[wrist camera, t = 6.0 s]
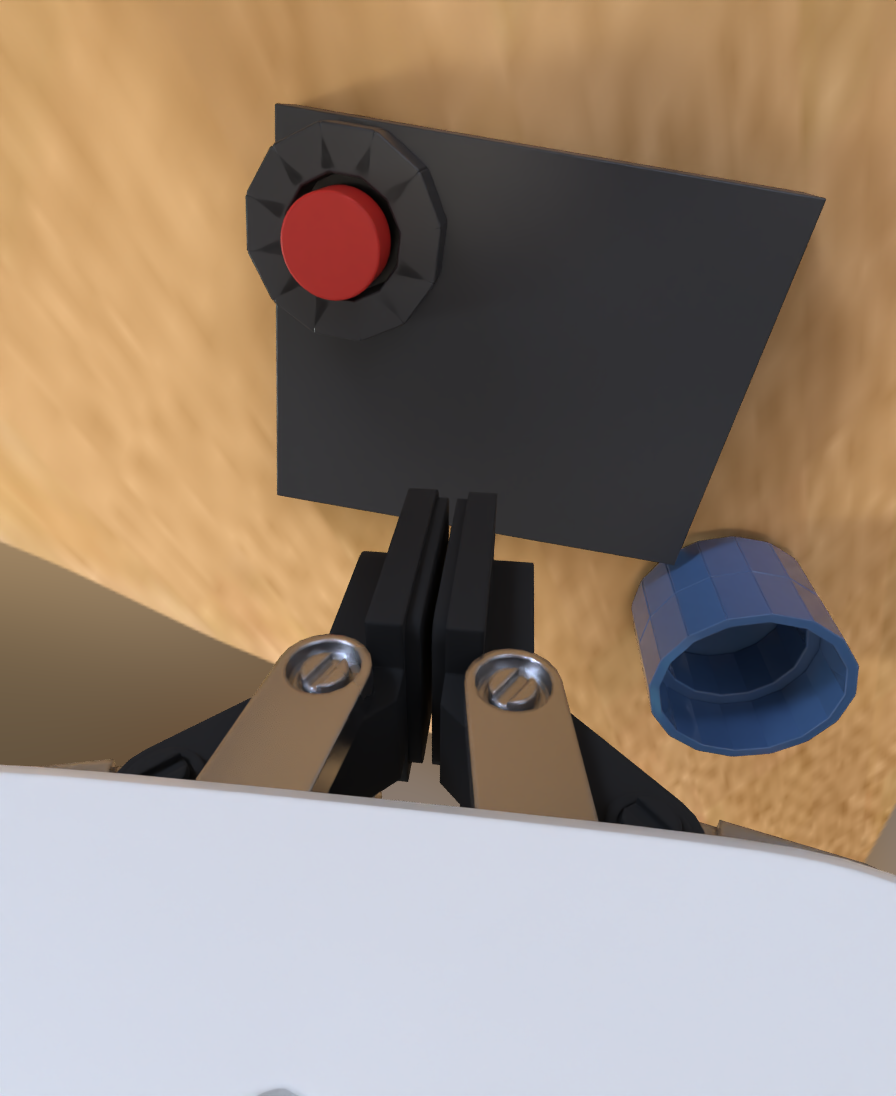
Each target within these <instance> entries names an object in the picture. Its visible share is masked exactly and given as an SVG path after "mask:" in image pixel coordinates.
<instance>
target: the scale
mask: <svg viewBox="0 0 896 1096" xmlns="http://www.w3.org/2000/svg"><path fill="white" fill-rule="evenodd" d="M339 184H341V185H348V186H352V187H355V188H358V189H360V190H361V191H363V192H365V193H366V194H368V195H369V196H370V197H371V198H372V199H373V200H374V201H375V202H376V203H377V204H378V205H379V207H380V208H381V210H382V211H383V213H384V215H385V217H386V219H387V222H388V225H389V229H390V235H391V249H390V255H389V258H388V261H387V264H386V266H385V267H384V269H383V271H382V272H381V273H380V275H379V276H378V277H377V278H376V279H375V280H374V281H373V282H372V283H371V284H370V285H369V286H368V287H367V288H366V289H365V290H364V291H363V292H362V293H360V294H359V295H357V296H355V297H353V298H350V299H347V300H341V301H333V300H326V299H322V298H320V297H317V296H315V295H313V294H311V293H310V292H308V291H307V290H305V289H304V288H303V287H302V286H301V285H300V284H299V283H298V282H297V281H296V280H295V279H294V277H293V276H292V275H291V273H290V271H289V270H288V268H287V266H286V263H285V261H284V258H283V254H282V250H281V240H280V238H281V228H282V224H283V220H284V218H285V215H286V213H287V211H288V210H289V208H290V207H291V206H292V204H293V203H294V202H295V201H296V200H298V199H299V198H300V197H301V196H303V195H305V194H307V193H309V192H312V191H315V190H318V189H321V188H324V187H327V186H331V185H339ZM825 201H826V199H825V198H823V197H819V196H815V195H811V194H808V193H804V192H799V191H793V190H787V189H782V188H776V187H770V186H764V185H758V184H753V183H747V182H741V181H735V180H729V179H724V178H718V177H712V176H706V175H700V174H695V173H689V172H683V171H677V170H672V169H666V168H660V167H654V166H648V165H643V164H637V163H631V162H625V161H619V160H614V159H608V158H602V157H596V156H590V155H585V154H579V153H573V152H567V151H562V150H556V149H550V148H544V147H538V146H533V145H527V144H521V143H515V142H509V141H504V140H498V139H492V138H486V137H480V136H475V135H469V134H463V133H457V132H451V131H446V130H440V129H434V128H428V127H423V126H417V125H411V124H405V123H399V122H394V121H388V120H382V119H376V118H370V117H365V116H359V115H353V114H347V113H341V112H336V111H330V110H324V109H318V108H313V107H307V106H301V105H294V104H278V103H277V104H275V143H274V144H273V146H271V147H270V148H269V150H268V152H267V154H266V156H265V158H264V160H263V162H262V164H261V166H260V167H259V169H258V171H257V173H256V175H255V177H254V179H253V181H252V183H251V185H250V187H249V188H248V190H247V195H246V230H247V251H248V254H249V256H250V258H251V259H252V261H253V263H254V265H255V267H256V269H257V271H258V273H259V275H260V277H261V279H262V281H263V283H264V285H265V287H266V289H267V291H268V293H269V295H270V297H271V299H272V300H274V302H275V303H276V373H277V495H280V496H285V497H291V498H297V499H302V500H308V501H314V502H319V503H325V504H331V505H336V506H342V507H348V508H353V509H359V510H365V511H370V512H376V513H382V514H387V515H393V516H400V513H401V510H402V507H403V504H404V501H405V498H406V495H407V492H408V490H409V488H421V489H437V490H438V492H439V497H445V498H449V525H450V526H452V522H453V517H454V512H455V507H456V502H457V498H461V499H468V494H469V491H470V492H486V493H497V511H496V528H495V534H501V535H506V536H512V537H518V538H523V539H529V540H535V541H540V542H546V543H552V544H557V545H563V546H569V547H574V548H580V549H586V550H591V551H597V552H603V553H608V554H614V555H619V556H625V557H631V558H636V559H642V560H648V561H653V562H659V563H665V564H670V565H674V564H675V562H676V560H677V557H678V555H679V552H680V550H681V547H682V545H683V543H684V540H685V538H686V535H687V533H688V531H689V528H690V526H691V523H692V521H693V519H694V516H695V514H696V511H697V509H698V507H699V504H700V502H701V499H702V497H703V495H704V492H705V490H706V487H707V485H708V483H709V480H710V478H711V475H712V473H713V471H714V468H715V466H716V463H717V461H718V458H719V456H720V454H721V451H722V449H723V446H724V444H725V442H726V439H727V437H728V434H729V432H730V430H731V427H732V425H733V422H734V420H735V418H736V415H737V413H738V410H739V408H740V406H741V403H742V401H743V398H744V396H745V394H746V391H747V389H748V386H749V384H750V381H751V379H752V377H753V374H754V372H755V369H756V367H757V365H758V362H759V360H760V357H761V355H762V353H763V350H764V348H765V345H766V343H767V341H768V338H769V336H770V333H771V331H772V329H773V326H774V324H775V321H776V319H777V317H778V314H779V312H780V309H781V307H782V304H783V302H784V300H785V297H786V295H787V292H788V290H789V288H790V285H791V283H792V280H793V278H794V276H795V273H796V271H797V268H798V266H799V264H800V261H801V259H802V256H803V254H804V252H805V249H806V247H807V244H808V242H809V240H810V237H811V235H812V232H813V230H814V228H815V225H816V223H817V220H818V218H819V215H820V213H821V211H822V208H823V206H824V203H825Z"/></svg>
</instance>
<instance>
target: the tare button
mask: <svg viewBox="0 0 896 1096" xmlns="http://www.w3.org/2000/svg"><path fill="white" fill-rule="evenodd" d="M280 240H281V250H282V254H283V258H284V261H285V263H286V266H287V268H288V270H289V271H290V273H291V275H292V276H293V277H294V279H295V280H296V281H297V282H298V283H299V284H300V285H301V286H302V287H303V288H304V289H305V290H307V291H308V292H310V293H311V294H313V295H315V296H317V297H320V298H322V299H326V300H333V301H341V300H347V299H350V298H353V297H355V296H357V295H359V294H360V293H362V292H363V291H364V290H365V289H366V288H367V287H368V286H369V285H370V284H371V283H372V282H373V281H374V280H375V279H376V278H377V277H378V276H379V275H380V273H381V272H382V271H383V269H384V267H385V266H386V264H387V261H388V258H389V255H390V249H391V235H390V229H389V225H388V222H387V219H386V217H385V215H384V213H383V211H382V210H381V208H380V207H379V205H378V204H377V203H376V202H375V201H374V200H373V199H372V198H371V197H370V196H369V195H368V194H366V193H365V192H363V191H361V190H360V189H358V188H355V187H352V186H348V185H341V184H339V185H331V186H327V187H324V188H321V189H318V190H315V191H312V192H309V193H307V194H305V195H303V196H301V197H300V198H299V199H298V200H296V201H295V202H294V203H293V204H292V206H291V207H290V208H289V210H288V211H287V213H286V215H285V218H284V220H283V224H282V228H281V238H280Z"/></svg>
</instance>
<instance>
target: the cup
mask: <svg viewBox="0 0 896 1096" xmlns="http://www.w3.org/2000/svg"><path fill="white" fill-rule="evenodd" d="M632 616H633V623H634V630H635V635H636V640H637V645H638V650H639V654H640V659H641V664H642V669H643V674H644V679H645V684H646V688H647V693H648V698H649V703H650V708H651V712H652V714H653V716H654V717H655V718H656V720H657V721H658V722H659V723H660V725H661V726H662V727H663V728H664V730H665V731H666V732H667V734H668V735H670V736H671V737H673V738H675V739H677V740H678V741H680V742H682V743H684V744H686V745H688V746H690V747H692V748H694V749H695V750H698V751H703V752H709V753H714V754H720V755H726V756H733V757H735V756H748V755H761V754H770V753H774V752H777V751H780V750H783V749H786V748H789V747H792V746H795V745H798V744H801V743H804V742H807V741H809V740H810V739H812V738H813V737H815V736H816V735H818V734H819V733H821V732H822V731H824V730H825V729H826V728H828V727H829V726H831V725H832V724H834V723H835V722H837V721H838V720H839V718H840V717H841V715H842V714H843V712H844V711H845V710H846V708H847V707H848V705H849V704H850V703H851V701H852V700H853V698H854V697H855V694H856V690H857V680H858V670H859V666H858V663H857V661H856V659H855V657H854V655H853V654H852V652H851V650H850V648H849V646H848V645H847V643H846V641H845V639H844V638H843V636H842V634H841V633H840V631H839V629H838V628H837V626H836V624H835V623H834V621H833V620H832V618H831V616H830V615H829V613H828V611H827V610H826V608H825V606H824V605H823V603H822V601H821V600H820V598H819V597H818V595H817V593H816V592H815V590H814V588H813V587H812V585H811V583H810V582H809V580H808V578H807V577H806V575H805V573H804V572H803V570H802V569H801V567H800V565H799V564H798V562H797V561H796V560H795V558H793V557H791V556H790V555H788V554H787V553H785V552H784V551H782V550H780V549H779V548H777V547H776V546H774V545H772V544H771V543H768V542H765V541H759V540H753V539H748V538H742V537H736V536H729V537H723V538H716V539H709V540H702V541H697V542H694V543H692V544H690V545H688V546H686V547H684V548H682V549H681V550H680V552H679V555H678V557H677V560H676V562H675V564H674V565H670V564H665V563H658V564H657V565H656V566H655V567H654V568H653V569H652V570H651V571H650V572H649V573H648V574H647V575H646V576H645V577H644V578H643V580H642V581H641V583H640V585H639V588H638V590H637V593H636V595H635V598H634V601H633V603H632Z"/></svg>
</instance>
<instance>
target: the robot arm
mask: <svg viewBox="0 0 896 1096" xmlns="http://www.w3.org/2000/svg"><path fill="white" fill-rule="evenodd" d="M496 511H497V493H486V492H470V491H469V494H468V499H461V498H457V502H456V507H455V512H454V517H453V522H452V527H451V532H450V537H449V498H445V497H439V492H438V490H437V489H421V488H409V490H408V492H407V495H406V498H405V501H404V504H403V507H402V510H401V513H400V516H399V519H398V522H397V525H396V528H395V531H394V534H393V537H392V540H391V543H390V546H389V549H388V552H387V553H384V552H369V551H364V552H362V553H361V555H360V557H359V559H358V562H357V564H356V567H355V570H354V572H353V575H352V577H351V580H350V582H349V585H348V587H347V590H346V592H345V595H344V598H343V600H342V603H341V605H340V608H339V610H338V613H337V615H336V618H335V621H334V623H333V626H332V628H331V631H330V633H329V634H325V635H317V636H312V637H309V638H307V639H304V640H301V641H299V642H297V643H296V644H294V645H293V646H291V647H289V648H288V649H287V650H286V651H285V652H284V653H283V654H282V655H281V657H280V658H279V659H278V661H277V662H276V664H275V665H274V666H273V668H272V669H271V671H270V672H269V674H268V676H267V677H266V678H265V680H264V681H263V683H262V684H261V685H260V687H259V688H258V690H257V691H256V693H255V694H254V695H253V697H252V698H250V699H247V700H245V701H243V702H242V703H239V704H237V705H235V706H233V707H231V708H229V709H227V710H225V711H223V712H221V713H219V714H217V715H215V716H213V717H211V718H209V719H207V720H205V721H203V722H201V723H199V724H197V725H195V726H193V727H191V728H188V729H187V730H185V731H182V732H180V733H178V734H176V735H174V736H172V737H170V738H168V739H166V740H164V741H162V742H160V743H158V744H156V745H154V746H152V747H150V748H148V749H146V750H144V751H142V752H141V753H139V754H138V755H136V756H134V757H133V758H131V759H130V760H129V761H128V762H127V763H126V764H125V765H124V766H118V767H116V764H115V762H114V760H113V759H110V760H100V761H90V762H80V763H70V764H60V765H50V766H40V767H34V766H11V765H0V1096H896V875H894V874H891V873H888V872H885V871H882V870H879V869H877V868H875V867H872V866H870V865H868V864H866V863H862V862H859V861H856V860H852V859H849V858H846V857H842V856H839V855H835V854H832V853H829V852H825V851H822V850H819V849H815V848H812V847H809V846H805V845H802V844H799V843H795V842H792V841H789V840H785V839H782V838H779V837H775V836H772V835H769V834H765V833H762V832H759V831H755V830H752V829H749V828H745V827H742V826H738V825H735V824H732V823H728V822H725V821H722V820H719V823H718V825H717V827H714V826H711V825H707V824H704V823H701V822H699V821H698V820H697V818H696V816H695V815H694V814H693V813H692V812H691V811H690V810H689V809H688V808H687V807H686V806H685V805H684V804H683V803H682V802H681V801H680V800H678V799H677V798H676V797H675V796H673V795H672V794H671V793H670V792H668V791H667V790H666V789H665V788H663V787H662V786H661V785H660V784H658V783H657V782H656V781H655V780H653V779H652V778H651V777H650V776H648V775H647V774H646V773H645V772H643V771H642V770H641V769H640V768H639V767H637V766H636V765H635V764H634V763H632V762H631V761H630V760H629V759H627V758H626V757H625V756H624V755H622V754H621V753H620V752H619V751H617V750H616V749H615V748H614V747H612V746H611V745H610V744H609V743H607V742H606V741H605V740H604V739H602V738H601V737H600V736H599V735H597V734H596V733H595V732H594V731H592V730H591V729H590V728H589V727H587V726H586V725H585V724H584V723H582V722H581V721H580V720H579V719H577V718H576V717H575V716H574V715H572V714H571V713H570V709H569V705H568V702H567V698H566V694H565V690H564V686H563V682H562V679H561V677H560V675H559V673H558V671H557V670H556V669H555V668H554V667H553V666H552V665H551V663H550V662H549V661H547V660H546V659H544V658H542V657H540V656H539V655H537V654H535V653H534V564H533V563H527V562H513V561H498V560H494V544H495V528H496ZM431 714H432V764H437V765H440V783H441V784H442V785H443V786H444V788H445V789H446V790H447V791H448V792H449V793H450V794H451V795H452V796H453V797H454V798H455V799H456V801H457V802H458V803H459V804H460V807H455V806H445V805H436V804H426V803H416V802H407V801H397V800H387V799H382V793H381V791H382V790H384V789H386V788H387V787H388V786H390V785H392V784H393V783H395V782H396V781H405V782H408V779H409V774H410V768H411V763H412V762H416V763H423V760H424V755H425V749H426V743H427V736H428V731H429V725H430V719H431Z"/></svg>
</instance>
